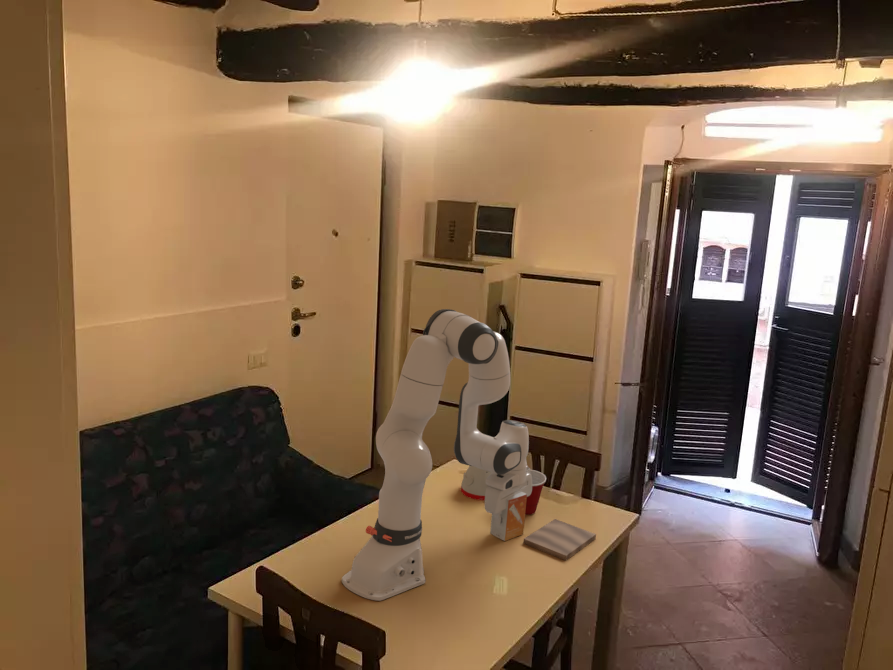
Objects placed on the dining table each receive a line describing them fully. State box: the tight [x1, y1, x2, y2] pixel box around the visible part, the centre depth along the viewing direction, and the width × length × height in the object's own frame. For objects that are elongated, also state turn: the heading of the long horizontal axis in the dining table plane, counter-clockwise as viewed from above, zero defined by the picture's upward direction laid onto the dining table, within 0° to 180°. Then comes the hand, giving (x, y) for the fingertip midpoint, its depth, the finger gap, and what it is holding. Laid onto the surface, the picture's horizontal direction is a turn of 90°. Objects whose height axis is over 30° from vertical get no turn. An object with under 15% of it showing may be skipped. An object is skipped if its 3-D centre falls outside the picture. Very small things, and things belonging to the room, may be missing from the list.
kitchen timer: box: [460, 465, 491, 501], centre depth 245 cm, size 14×14×15 cm
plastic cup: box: [525, 469, 547, 516], centre depth 232 cm, size 11×11×12 cm
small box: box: [490, 492, 527, 542], centre depth 216 cm, size 8×6×13 cm
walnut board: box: [523, 518, 597, 561], centre depth 215 cm, size 18×14×2 cm
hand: (507, 517), depth 216 cm, fingers closed on small box, 8 cm apart
